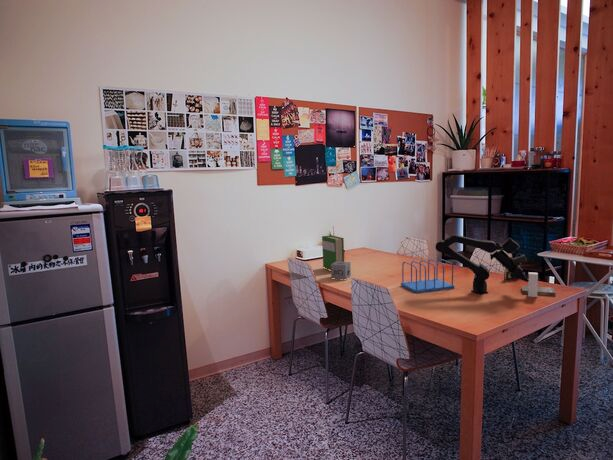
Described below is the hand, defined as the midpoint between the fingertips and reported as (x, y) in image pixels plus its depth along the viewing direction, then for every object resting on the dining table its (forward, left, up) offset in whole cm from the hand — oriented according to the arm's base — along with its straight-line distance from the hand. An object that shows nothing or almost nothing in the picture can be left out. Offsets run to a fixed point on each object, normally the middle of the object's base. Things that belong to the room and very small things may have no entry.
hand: (527, 281), depth 211 cm
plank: (+9, +2, -8) cm, 12 cm away
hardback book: (-73, +101, -8) cm, 125 cm away
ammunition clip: (+18, +31, -8) cm, 37 cm away
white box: (+5, +2, -8) cm, 9 cm away
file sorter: (-38, +35, -8) cm, 52 cm away
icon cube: (-76, +77, -8) cm, 108 cm away
